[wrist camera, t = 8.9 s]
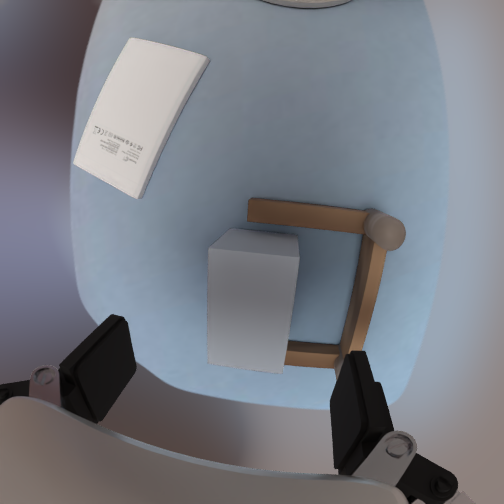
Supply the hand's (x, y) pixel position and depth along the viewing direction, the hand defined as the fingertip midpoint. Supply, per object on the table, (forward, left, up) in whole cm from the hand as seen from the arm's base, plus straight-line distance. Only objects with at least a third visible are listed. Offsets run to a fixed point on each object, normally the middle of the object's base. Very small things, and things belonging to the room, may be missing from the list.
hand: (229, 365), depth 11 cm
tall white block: (+1, 0, -12) cm, 12 cm away
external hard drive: (-12, -11, -12) cm, 21 cm away
